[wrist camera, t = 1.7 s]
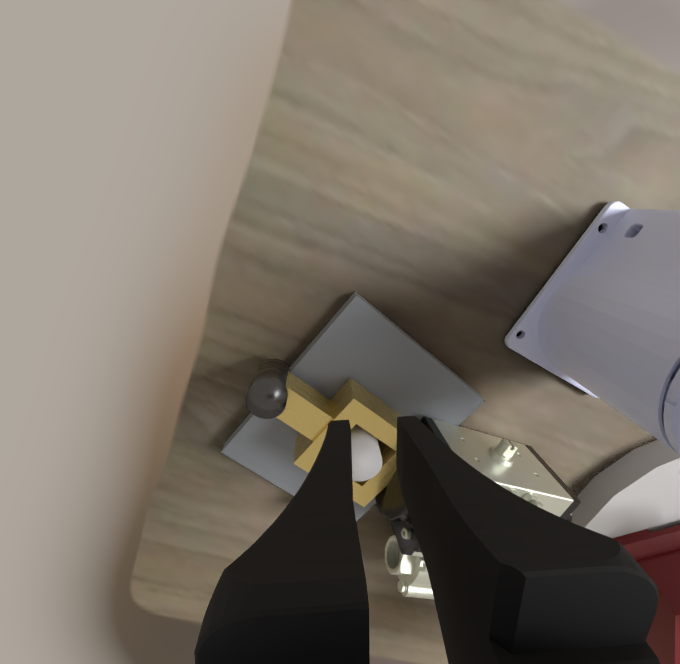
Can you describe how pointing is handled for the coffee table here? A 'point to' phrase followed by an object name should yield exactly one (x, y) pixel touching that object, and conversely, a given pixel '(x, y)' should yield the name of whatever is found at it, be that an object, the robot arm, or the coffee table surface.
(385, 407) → the square nut with handle
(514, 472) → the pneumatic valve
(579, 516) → the gramophone
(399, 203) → the coffee table surface
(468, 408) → the plate
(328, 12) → the coffee table surface
